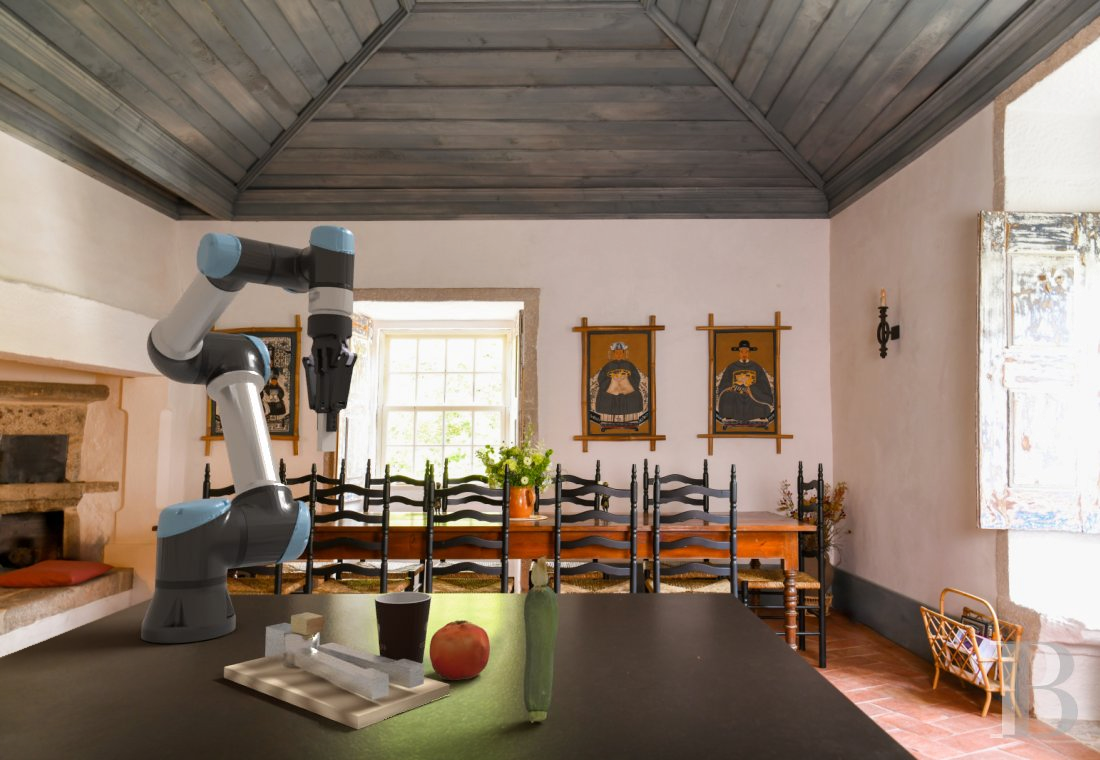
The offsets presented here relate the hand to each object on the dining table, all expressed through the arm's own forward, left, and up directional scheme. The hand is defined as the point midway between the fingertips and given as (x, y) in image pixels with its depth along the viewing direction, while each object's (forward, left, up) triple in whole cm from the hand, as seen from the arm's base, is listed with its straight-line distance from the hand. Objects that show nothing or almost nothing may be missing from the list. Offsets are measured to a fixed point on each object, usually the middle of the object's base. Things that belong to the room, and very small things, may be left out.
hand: (326, 451), depth 127 cm
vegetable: (+50, -3, -33) cm, 60 cm away
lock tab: (+12, -11, -26) cm, 31 cm away
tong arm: (+24, -14, -30) cm, 41 cm away
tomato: (+30, +3, -33) cm, 44 cm away
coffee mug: (+18, +3, -33) cm, 37 cm away
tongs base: (+19, -11, -31) cm, 38 cm away
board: (+19, -12, -32) cm, 40 cm away
